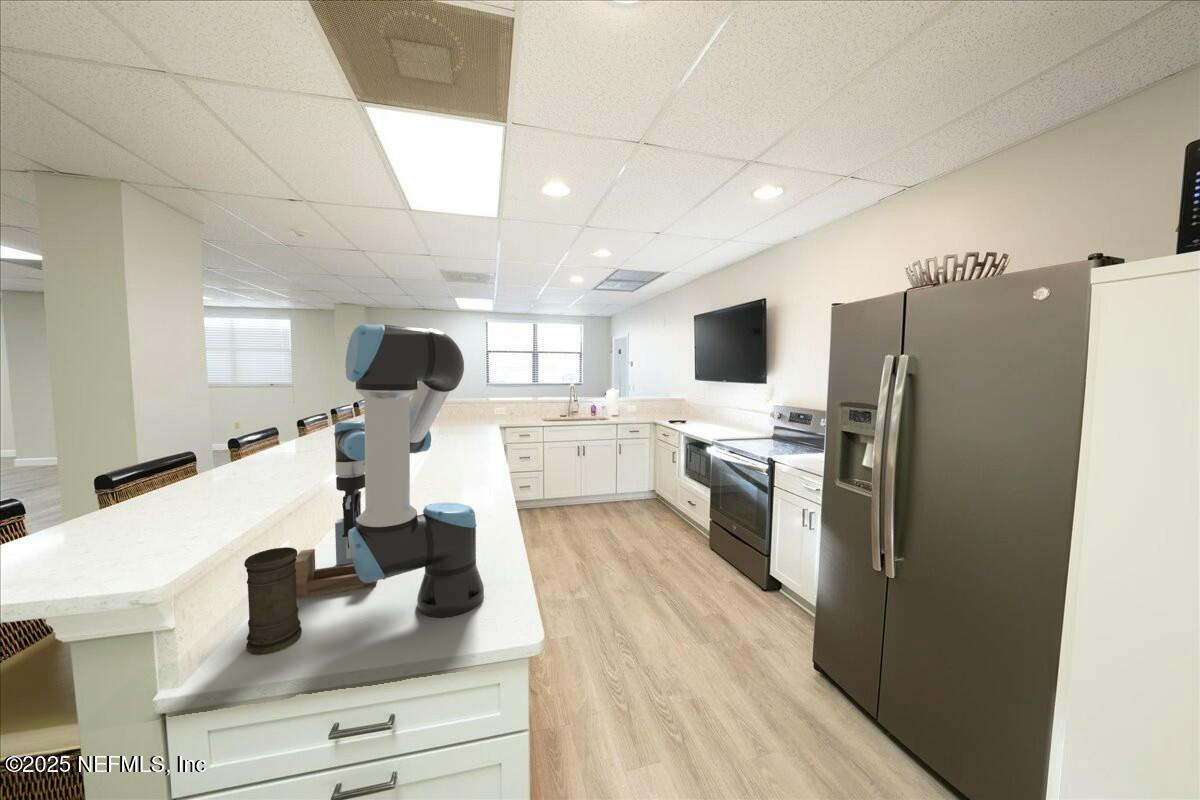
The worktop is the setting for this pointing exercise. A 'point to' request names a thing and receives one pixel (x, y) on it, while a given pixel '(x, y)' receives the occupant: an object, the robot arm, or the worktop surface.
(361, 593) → the worktop surface
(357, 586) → the frame
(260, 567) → the container
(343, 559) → the door
